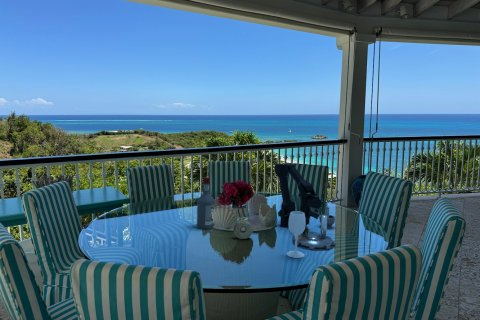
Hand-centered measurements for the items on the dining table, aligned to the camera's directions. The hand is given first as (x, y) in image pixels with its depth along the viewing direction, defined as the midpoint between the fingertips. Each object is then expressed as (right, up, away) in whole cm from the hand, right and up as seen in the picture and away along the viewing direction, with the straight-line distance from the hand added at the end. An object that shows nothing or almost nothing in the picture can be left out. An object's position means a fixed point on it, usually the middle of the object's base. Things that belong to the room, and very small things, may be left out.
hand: (303, 231), depth 220 cm
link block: (0, -1, 0) cm, 1 cm away
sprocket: (+2, -3, -18) cm, 18 cm away
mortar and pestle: (+17, 0, +15) cm, 22 cm away
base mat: (+2, -3, -18) cm, 18 cm away
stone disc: (-36, -2, -13) cm, 38 cm away
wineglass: (-10, -5, -36) cm, 38 cm away
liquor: (-58, +1, +6) cm, 58 cm away
